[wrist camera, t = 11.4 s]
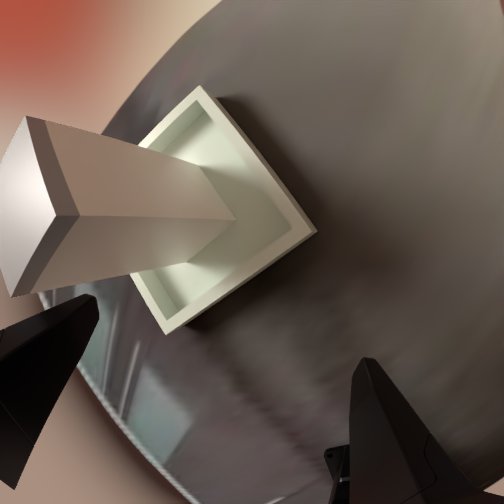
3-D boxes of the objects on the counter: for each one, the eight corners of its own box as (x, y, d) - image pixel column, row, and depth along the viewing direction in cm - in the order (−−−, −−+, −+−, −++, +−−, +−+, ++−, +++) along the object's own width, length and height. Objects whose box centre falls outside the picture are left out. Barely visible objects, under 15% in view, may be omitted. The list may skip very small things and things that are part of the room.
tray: (318, 231, 20) (312, 231, 17) (183, 325, 24) (165, 335, 21) (215, 97, 21) (199, 85, 19) (112, 200, 25) (92, 199, 23)
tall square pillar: (237, 220, 21) (56, 215, 8) (186, 262, 22) (10, 297, 9) (198, 165, 22) (25, 115, 8) (153, 208, 23) (-16, 202, 10)
